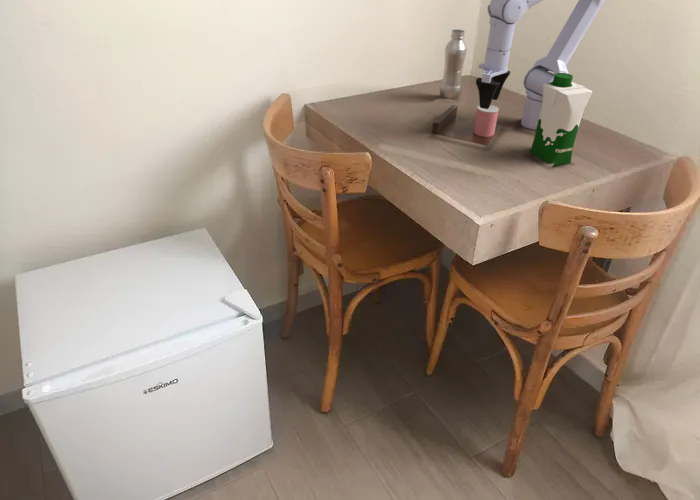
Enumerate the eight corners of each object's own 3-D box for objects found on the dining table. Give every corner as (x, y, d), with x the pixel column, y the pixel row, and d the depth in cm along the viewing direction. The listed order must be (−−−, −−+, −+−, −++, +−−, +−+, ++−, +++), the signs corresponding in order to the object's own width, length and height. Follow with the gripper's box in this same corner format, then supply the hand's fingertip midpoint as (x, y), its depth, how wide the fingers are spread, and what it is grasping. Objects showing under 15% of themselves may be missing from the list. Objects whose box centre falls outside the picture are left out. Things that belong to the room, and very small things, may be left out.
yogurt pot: (496, 131, 143) (501, 106, 139) (490, 138, 139) (495, 113, 135) (476, 127, 145) (480, 102, 141) (470, 134, 141) (474, 109, 137)
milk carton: (551, 149, 137) (571, 70, 125) (576, 164, 130) (600, 82, 119) (523, 155, 134) (541, 74, 122) (547, 170, 127) (569, 86, 116)
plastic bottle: (463, 98, 167) (473, 30, 155) (454, 104, 162) (464, 34, 151) (444, 94, 170) (452, 27, 158) (435, 100, 165) (443, 31, 153)
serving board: (502, 130, 147) (505, 115, 144) (486, 150, 136) (489, 134, 133) (450, 119, 152) (452, 104, 150) (431, 137, 142) (433, 122, 139)
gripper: (491, 39, 136) (482, 92, 144) (473, 52, 126) (464, 109, 133) (518, 43, 134) (508, 97, 141) (502, 57, 123) (492, 114, 131)
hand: (488, 103), depth 137 cm, fingers open, 7 cm apart
